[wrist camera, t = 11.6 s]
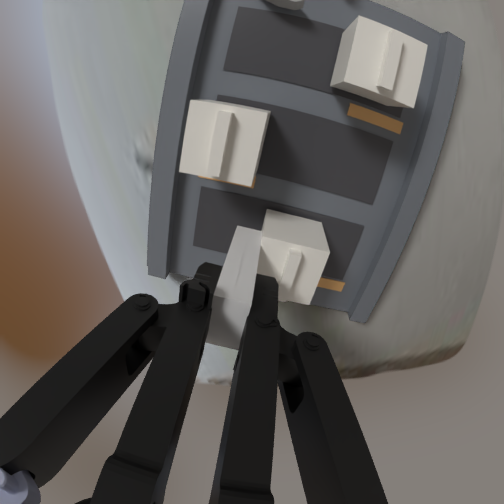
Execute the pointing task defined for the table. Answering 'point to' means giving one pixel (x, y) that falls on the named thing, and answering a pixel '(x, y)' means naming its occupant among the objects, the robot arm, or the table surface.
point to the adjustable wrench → (288, 4)
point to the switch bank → (299, 141)
